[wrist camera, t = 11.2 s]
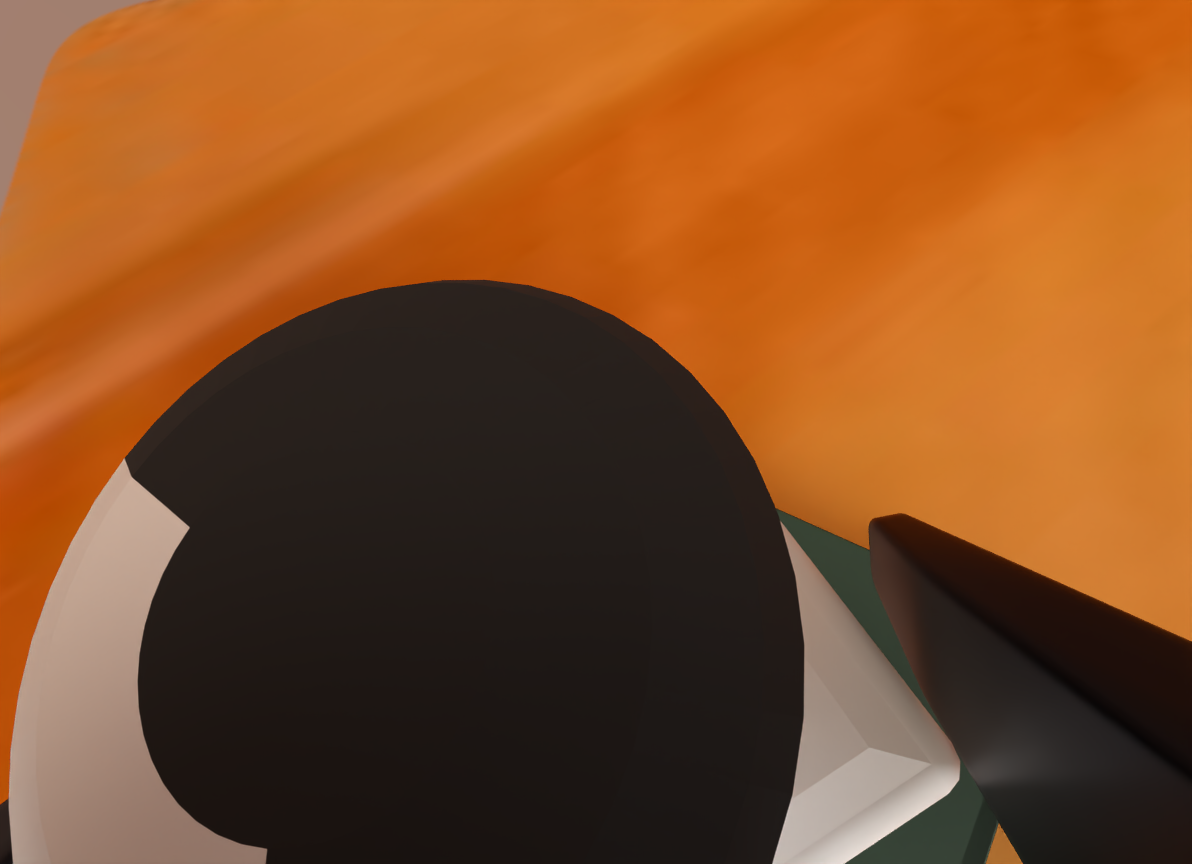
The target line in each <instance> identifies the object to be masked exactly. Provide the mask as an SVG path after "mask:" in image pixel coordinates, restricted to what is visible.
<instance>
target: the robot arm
mask: <svg viewBox="0 0 1192 864" xmlns="http://www.w3.org/2000/svg"><path fill="white" fill-rule="evenodd" d="M869 545H870V561H871V573H872V578H873V582H874V585H875V588H876V590H877V593H878V595H879V597H880V599H881V601H882V604H883V606H884V608H885V610H886V613H887V615H888V617H889V619H890V622H891V624H892V626H893V628H894V630H895V633H896V635H897V637H898V639H899V642H900V644H901V646H902V648H903V651H904V653H905V655H906V657H907V659H908V662H909V664H910V666H911V668H912V671H913V673H914V675H915V677H916V679H917V682H918V684H919V686H920V688H921V690H922V692H923V694H924V696H925V698H926V700H927V701H928V703H929V705H930V707H931V709H932V710H933V712H934V714H935V716H936V717H937V719H938V721H939V722H940V724H941V726H942V727H943V729H944V731H945V732H946V734H947V736H948V738H949V739H950V741H951V743H952V744H953V746H954V748H955V749H956V751H957V753H958V754H959V756H960V758H961V759H962V761H963V763H964V765H965V766H966V768H967V770H968V771H969V773H970V775H971V776H972V778H973V780H974V781H975V783H976V785H977V786H978V788H979V790H980V792H981V793H982V795H983V797H984V798H985V800H986V802H987V803H988V805H989V807H990V808H991V810H992V812H993V813H994V815H995V817H996V819H997V820H998V822H999V824H1000V825H1001V827H1002V829H1003V830H1004V832H1005V834H1006V835H1007V837H1008V839H1009V840H1010V842H1011V844H1012V845H1013V847H1014V849H1015V851H1016V852H1017V854H1018V856H1019V857H1020V859H1021V861H1022V862H1023V864H1192V642H1191V641H1189V640H1187V639H1185V638H1182V637H1180V636H1178V635H1176V634H1173V633H1171V632H1169V631H1167V630H1164V629H1162V628H1160V627H1158V626H1155V625H1153V624H1151V623H1149V622H1147V621H1144V620H1142V619H1140V618H1138V617H1135V616H1133V615H1131V614H1129V613H1126V612H1124V611H1122V610H1120V609H1117V608H1115V607H1113V606H1111V605H1108V604H1106V603H1104V602H1102V601H1099V600H1097V599H1095V598H1093V597H1090V596H1088V595H1086V594H1084V593H1081V592H1079V591H1077V590H1075V589H1073V588H1070V587H1068V586H1066V585H1064V584H1061V583H1059V582H1057V581H1055V580H1052V579H1050V578H1048V577H1046V576H1043V575H1041V574H1039V573H1037V572H1034V571H1032V570H1030V569H1028V568H1025V567H1023V566H1021V565H1019V564H1016V563H1014V562H1012V561H1010V560H1007V559H1005V558H1003V557H1001V556H998V555H996V554H994V553H992V552H990V551H987V550H985V549H983V548H981V547H978V546H976V545H974V544H972V543H969V542H967V541H965V540H963V539H960V538H958V537H956V536H954V535H951V534H949V533H947V532H945V531H942V530H940V529H938V528H936V527H933V526H931V525H929V524H927V523H924V522H922V521H920V520H918V519H915V518H913V517H911V516H909V515H906V514H902V513H899V514H893V515H888V516H883V517H878V518H874V519H872V520H871V522H870V524H869ZM0 864H13V856H12V843H11V830H10V817H9V799H7V800H6V801H5V802H3V803H2V804H1V805H0Z"/></svg>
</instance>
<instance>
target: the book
mask: <svg viewBox="0 0 1192 864" xmlns="http://www.w3.org/2000/svg"><path fill="white" fill-rule="evenodd" d="M776 510H777V513H778V515H779V519H780V521H781V522H782V524H783V525H784V526H785V527H786V529H787V530H788V531H789V533H790V534H791V535H792V536H793V538H794V539H795V540H796V542H797V543H798V544H799V546H800V547H801V548H802V549H803V551H804V552H805V553H806V555H807V556H808V557H809V558H810V560H811V561H812V562H813V564H814V565H815V566H816V568H817V569H818V570H819V571H820V573H821V574H822V575H823V577H824V578H825V579H826V581H827V582H828V583H829V584H830V586H831V587H832V588H833V590H834V591H835V592H836V593H837V595H838V596H839V597H840V599H841V600H842V601H843V603H844V604H845V605H846V606H847V608H848V609H849V610H850V612H851V613H852V614H853V615H854V617H855V618H856V619H857V621H858V622H859V623H860V625H861V626H862V627H863V628H864V630H865V631H866V632H867V634H868V635H869V636H870V637H871V639H872V640H873V641H874V643H875V644H876V645H877V647H878V648H879V649H880V650H881V652H882V653H883V654H884V656H885V657H886V658H887V660H888V661H889V662H890V663H891V665H892V666H893V667H894V669H895V670H896V671H897V672H898V674H899V675H900V676H901V678H902V679H903V680H904V682H905V683H906V684H907V685H908V687H909V688H910V689H911V691H912V692H913V693H914V694H915V696H916V697H917V698H918V700H919V701H920V702H921V704H922V705H923V706H924V707H925V709H926V710H927V711H928V713H929V714H930V715H931V717H932V718H933V719H934V720H935V722H936V723H937V724H938V726H939V727H940V728H941V729H942V731H943V732H944V733H945V735H946V736H947V734H946V732H945V731H944V729H943V727H942V726H941V724H940V722H939V721H938V719H937V717H936V716H935V714H934V712H933V710H932V709H931V707H930V705H929V703H928V701H927V700H926V698H925V696H924V694H923V692H922V690H921V688H920V686H919V684H918V682H917V679H916V677H915V675H914V673H913V671H912V668H911V666H910V664H909V662H908V659H907V657H906V655H905V653H904V651H903V648H902V646H901V644H900V642H899V639H898V637H897V635H896V633H895V630H894V628H893V626H892V624H891V622H890V619H889V617H888V615H887V613H886V610H885V608H884V606H883V604H882V601H881V599H880V597H879V595H878V593H877V590H876V588H875V585H874V582H873V578H872V573H871V561H870V550H868V549H866V548H864V547H861V546H859V545H857V544H855V543H852V542H850V541H848V540H846V539H843V538H841V537H839V536H837V535H834V534H832V533H830V532H828V531H826V530H823V529H821V528H819V527H817V526H814V525H812V524H810V523H808V522H805V521H803V520H801V519H799V518H796V517H794V516H792V515H790V514H787V513H785V512H783V511H781V510H779V509H776ZM947 737H948V736H947ZM948 739H949V738H948ZM949 740H950V739H949ZM953 747H954V746H953ZM954 749H955V748H954ZM955 751H956V749H955ZM956 753H957V751H956ZM957 755H958V757H959V759H960V775H959V781H958V782H957V783H956V785H955V786H954V787H953V789H952V790H951V791H950V793H949V794H947V795H946V796H944V797H943V798H942V799H940V800H939V801H937V802H936V803H934V804H933V805H931V806H930V807H928V808H927V809H925V810H924V811H922V812H921V813H919V814H918V815H916V816H915V817H913V818H912V819H910V820H909V821H907V822H906V823H904V824H903V825H901V826H900V827H898V828H897V829H895V830H894V831H892V832H891V833H889V834H888V835H886V836H885V837H883V838H882V839H880V840H879V841H877V842H876V843H874V844H873V845H871V846H870V847H868V848H867V849H865V850H864V851H862V852H861V853H859V854H858V855H856V856H855V857H853V858H852V859H851V860H849V861H848V862H846V863H845V864H986V861H987V858H988V854H989V851H990V848H991V845H992V842H993V839H994V836H995V833H996V830H997V827H998V824H999V822H998V820H997V819H996V817H995V815H994V813H993V812H992V810H991V808H990V807H989V805H988V803H987V802H986V800H985V798H984V797H983V795H982V793H981V792H980V790H979V788H978V786H977V785H976V783H975V781H974V780H973V778H972V776H971V775H970V773H969V771H968V770H967V768H966V766H965V765H964V763H963V761H962V759H961V758H960V756H959V754H958V753H957Z"/></svg>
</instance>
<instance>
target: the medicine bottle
mask: <svg viewBox="0 0 1192 864" xmlns="http://www.w3.org/2000/svg"><path fill="white" fill-rule="evenodd" d="M959 775H960V759H959V757H958V755H957V753H956V751H955V749H954V747H953V744H952V743H951V741H950V740H949V739H948V737H947V736H946V735H945V733H944V732H943V731H942V729H941V728H940V727H939V726H938V724H937V723H936V722H935V720H934V719H933V718H932V717H931V715H930V714H929V713H928V711H927V710H926V709H925V707H924V706H923V705H922V704H921V702H920V701H919V700H918V698H917V697H916V696H915V694H914V693H913V692H912V691H911V689H910V688H909V687H908V685H907V684H906V683H905V682H904V680H903V679H902V678H901V676H900V675H899V674H898V672H897V671H896V670H895V669H894V667H893V666H892V665H891V663H890V662H889V661H888V660H887V658H886V657H885V656H884V654H883V653H882V652H881V650H880V649H879V648H878V647H877V645H876V644H875V643H874V641H873V640H872V639H871V637H870V636H869V635H868V634H867V632H866V631H865V630H864V628H863V627H862V626H861V625H860V623H859V622H858V621H857V619H856V618H855V617H854V615H853V614H852V613H851V612H850V610H849V609H848V608H847V606H846V605H845V604H844V603H843V601H842V600H841V599H840V597H839V596H838V595H837V593H836V592H835V591H834V590H833V588H832V587H831V586H830V584H829V583H828V582H827V581H826V579H825V578H824V577H823V575H822V574H821V573H820V571H819V570H818V569H817V568H816V566H815V565H814V564H813V562H812V561H811V560H810V558H809V557H808V556H807V555H806V553H805V552H804V551H803V549H802V548H801V547H800V546H799V544H798V543H797V542H796V540H795V539H794V538H793V536H792V535H791V534H790V533H789V531H788V530H787V529H786V527H785V526H784V525H783V524H782V522H781V521H780V519H779V515H778V513H777V510H776V508H775V506H774V503H773V501H772V499H771V497H770V494H769V492H768V490H767V488H766V485H765V483H764V481H763V478H762V476H761V474H760V472H759V469H758V467H757V465H756V463H755V460H754V458H753V457H752V455H751V454H750V452H749V450H748V449H747V447H746V446H745V444H744V443H743V441H742V439H741V438H740V436H739V435H738V433H737V431H736V430H735V428H734V427H733V425H732V423H731V422H730V420H729V419H728V417H727V415H726V414H725V412H724V411H723V410H722V409H721V408H720V406H719V405H718V404H717V403H716V402H715V401H714V399H713V398H712V397H711V396H710V395H709V394H708V392H707V391H706V390H705V389H704V388H703V387H702V385H701V384H700V383H699V382H698V381H697V380H696V379H695V377H694V376H693V375H692V374H691V373H690V372H689V371H688V370H687V369H686V368H685V367H683V366H682V365H681V364H680V363H679V362H678V361H676V360H675V359H674V358H673V357H672V356H671V355H669V354H668V353H667V352H666V351H665V350H664V349H662V348H661V347H660V346H659V345H658V344H657V343H655V342H654V341H653V340H652V339H650V338H649V337H647V336H645V335H644V334H642V333H641V332H639V331H637V330H636V329H634V328H633V327H631V326H629V325H628V324H626V323H625V322H623V321H621V320H620V319H618V318H617V317H615V316H613V315H611V314H609V313H607V312H605V311H602V310H600V309H598V308H595V307H593V306H591V305H588V304H586V303H584V302H582V301H579V300H577V299H575V298H572V297H570V296H566V295H562V294H558V293H555V292H551V291H547V290H544V289H540V288H536V287H533V286H529V285H521V284H513V283H505V282H497V281H489V280H442V281H435V282H427V283H419V284H412V285H405V286H398V287H391V288H383V289H378V290H374V291H370V292H367V293H363V294H359V295H355V296H352V297H348V298H344V299H340V300H337V301H335V302H332V303H330V304H327V305H325V306H322V307H319V308H317V309H314V310H312V311H309V312H307V313H304V314H302V315H299V316H297V317H295V318H293V319H292V320H290V321H288V322H286V323H284V324H282V325H280V326H278V327H276V328H274V329H272V330H271V331H269V332H267V333H265V334H263V335H261V336H259V337H258V338H256V339H255V340H253V341H252V342H250V343H249V344H247V345H246V346H244V347H243V348H241V349H240V350H238V351H237V352H235V353H234V354H232V355H231V356H229V357H228V358H226V359H225V360H223V361H222V362H221V363H220V364H219V365H217V366H216V367H215V368H214V369H212V370H211V371H210V372H209V373H207V374H206V375H205V376H204V377H203V378H201V379H200V380H199V381H198V382H196V383H195V384H194V385H193V386H192V387H190V388H189V389H188V390H187V391H186V392H185V393H184V394H183V395H182V396H181V397H180V398H179V399H178V400H177V401H176V402H175V403H174V404H173V405H172V406H171V407H170V408H169V409H168V410H167V411H166V412H165V413H164V414H163V415H162V416H161V417H160V418H159V419H158V420H157V421H156V422H155V423H154V424H153V425H152V426H151V427H150V429H149V430H148V431H147V432H146V433H145V435H144V436H143V437H142V438H141V439H140V441H139V442H138V443H137V444H136V445H135V446H134V448H133V449H132V450H131V451H130V452H129V454H128V455H127V456H126V457H125V458H124V460H123V461H122V463H121V464H120V465H119V467H118V468H117V470H116V471H115V473H114V474H113V476H112V477H111V478H110V480H109V481H108V483H107V484H106V486H105V487H104V488H103V490H102V491H101V493H100V494H99V496H98V497H97V498H96V500H95V502H94V504H93V505H92V507H91V509H90V511H89V512H88V514H87V516H86V518H85V519H84V521H83V523H82V525H81V526H80V528H79V530H78V532H77V533H76V535H75V537H74V539H73V540H72V542H71V544H70V546H69V548H68V551H67V553H66V555H65V557H64V559H63V562H62V564H61V566H60V568H59V570H58V573H57V575H56V577H55V579H54V581H53V583H52V586H51V588H50V590H49V593H48V596H47V599H46V601H45V604H44V607H43V610H42V613H41V616H40V619H39V621H38V624H37V627H36V630H35V633H34V636H33V639H32V642H31V646H30V650H29V654H28V658H27V662H26V666H25V670H24V674H23V678H22V682H21V686H20V690H19V695H18V702H17V709H16V716H15V723H14V730H13V737H12V744H11V755H10V783H9V817H10V830H11V843H12V856H13V864H845V863H846V862H848V861H849V860H851V859H852V858H853V857H855V856H856V855H858V854H859V853H861V852H862V851H864V850H865V849H867V848H868V847H870V846H871V845H873V844H874V843H876V842H877V841H879V840H880V839H882V838H883V837H885V836H886V835H888V834H889V833H891V832H892V831H894V830H895V829H897V828H898V827H900V826H901V825H903V824H904V823H906V822H907V821H909V820H910V819H912V818H913V817H915V816H916V815H918V814H919V813H921V812H922V811H924V810H925V809H927V808H928V807H930V806H931V805H933V804H934V803H936V802H937V801H939V800H940V799H942V798H943V797H944V796H946V795H947V794H949V793H950V791H951V790H952V789H953V787H954V786H955V785H956V783H957V782H958V781H959Z"/></svg>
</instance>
